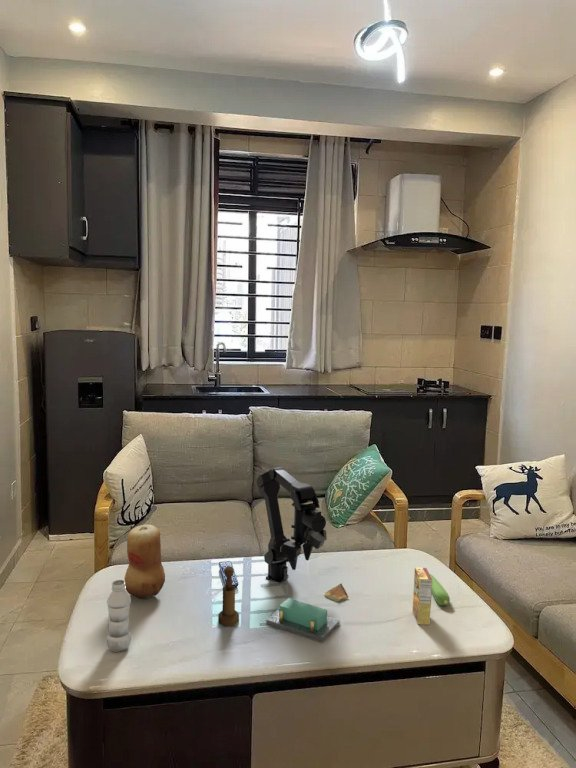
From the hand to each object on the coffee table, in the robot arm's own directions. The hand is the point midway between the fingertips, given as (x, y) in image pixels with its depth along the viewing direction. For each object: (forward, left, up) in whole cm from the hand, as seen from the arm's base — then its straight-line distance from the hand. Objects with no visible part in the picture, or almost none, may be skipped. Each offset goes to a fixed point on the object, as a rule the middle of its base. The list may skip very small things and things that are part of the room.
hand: (300, 564), depth 198 cm
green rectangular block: (+10, -16, -10) cm, 21 cm away
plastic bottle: (-29, -56, -12) cm, 64 cm away
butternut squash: (-45, -29, -12) cm, 55 cm away
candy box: (+41, +8, -12) cm, 43 cm away
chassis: (+10, -16, -11) cm, 22 cm away
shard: (+10, +8, -12) cm, 17 cm away
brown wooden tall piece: (-11, -27, -12) cm, 31 cm away
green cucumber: (+41, +27, -12) cm, 50 cm away
